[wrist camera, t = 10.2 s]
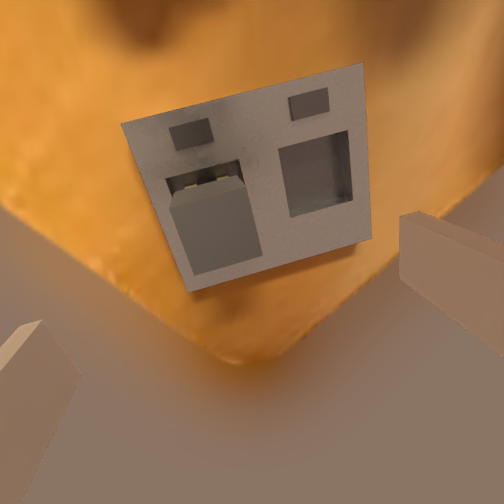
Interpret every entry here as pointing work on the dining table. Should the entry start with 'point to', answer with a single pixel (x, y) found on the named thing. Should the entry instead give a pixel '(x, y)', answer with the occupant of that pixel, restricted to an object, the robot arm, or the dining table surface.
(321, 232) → the socket
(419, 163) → the dining table surface
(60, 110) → the dining table surface
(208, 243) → the plug
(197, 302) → the dining table surface
